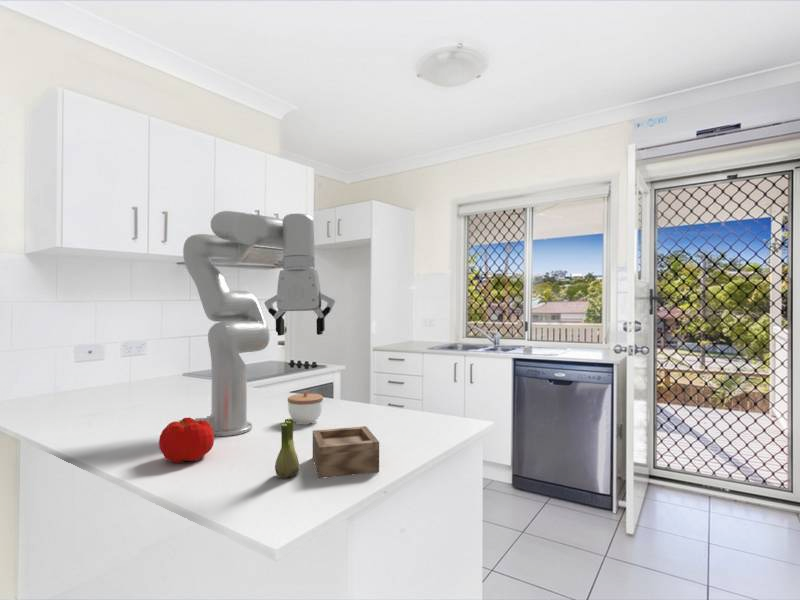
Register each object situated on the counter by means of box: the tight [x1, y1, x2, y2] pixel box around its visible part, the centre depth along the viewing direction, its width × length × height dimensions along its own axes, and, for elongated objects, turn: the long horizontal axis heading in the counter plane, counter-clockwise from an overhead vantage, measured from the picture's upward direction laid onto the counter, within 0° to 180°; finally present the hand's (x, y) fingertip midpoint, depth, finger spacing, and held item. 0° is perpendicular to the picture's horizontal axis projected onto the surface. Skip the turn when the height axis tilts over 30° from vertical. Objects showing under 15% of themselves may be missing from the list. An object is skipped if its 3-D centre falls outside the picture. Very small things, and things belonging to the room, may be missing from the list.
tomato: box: [158, 416, 215, 464], centre depth 106 cm, size 11×12×9 cm
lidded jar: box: [287, 390, 324, 425], centre depth 139 cm, size 11×11×9 cm
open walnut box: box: [312, 425, 380, 479], centre depth 102 cm, size 13×13×6 cm
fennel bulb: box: [274, 417, 300, 479], centre depth 95 cm, size 6×5×12 cm
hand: (300, 334), depth 109 cm, fingers open, 9 cm apart
